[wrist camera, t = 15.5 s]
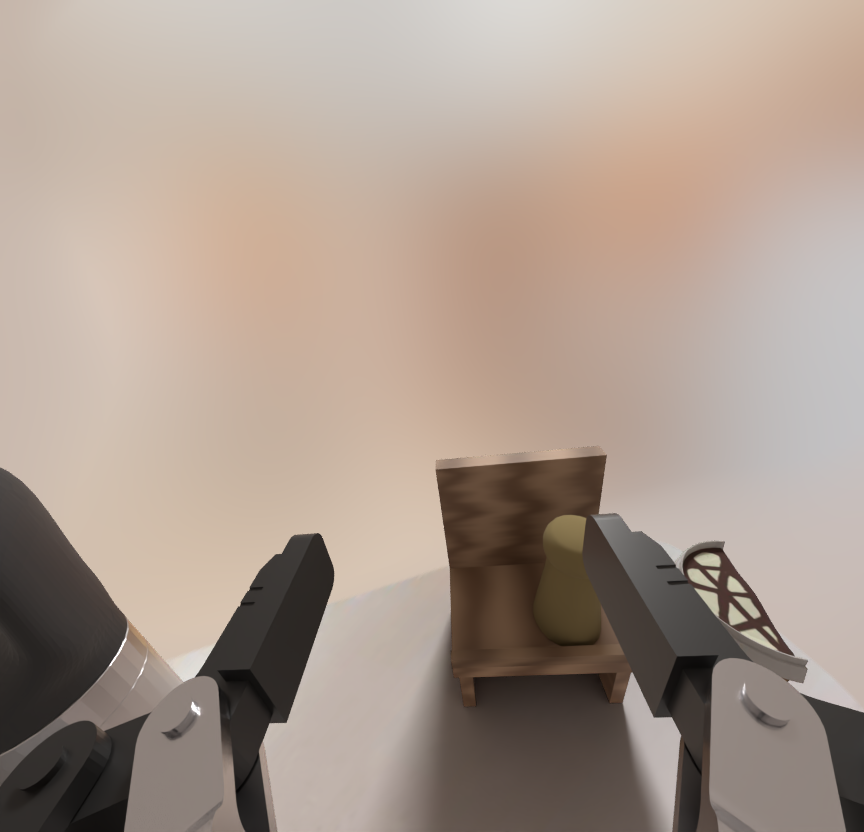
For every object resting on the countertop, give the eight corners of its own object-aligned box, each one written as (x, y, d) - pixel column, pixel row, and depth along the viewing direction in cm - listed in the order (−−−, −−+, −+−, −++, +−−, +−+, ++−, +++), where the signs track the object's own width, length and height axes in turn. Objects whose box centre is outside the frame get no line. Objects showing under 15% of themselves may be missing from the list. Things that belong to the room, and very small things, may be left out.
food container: (640, 589, 39) (655, 530, 35) (699, 597, 38) (721, 536, 33) (683, 712, 29) (711, 650, 25) (767, 732, 27) (814, 668, 23)
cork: (584, 666, 26) (603, 576, 21) (520, 617, 30) (524, 532, 26) (611, 613, 30) (632, 526, 25) (550, 575, 34) (559, 495, 29)
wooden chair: (460, 713, 31) (432, 555, 21) (455, 599, 41) (435, 460, 32) (629, 709, 29) (680, 540, 20) (580, 593, 40) (598, 445, 30)
